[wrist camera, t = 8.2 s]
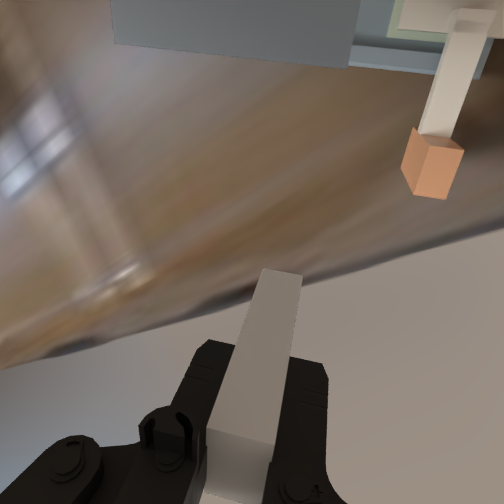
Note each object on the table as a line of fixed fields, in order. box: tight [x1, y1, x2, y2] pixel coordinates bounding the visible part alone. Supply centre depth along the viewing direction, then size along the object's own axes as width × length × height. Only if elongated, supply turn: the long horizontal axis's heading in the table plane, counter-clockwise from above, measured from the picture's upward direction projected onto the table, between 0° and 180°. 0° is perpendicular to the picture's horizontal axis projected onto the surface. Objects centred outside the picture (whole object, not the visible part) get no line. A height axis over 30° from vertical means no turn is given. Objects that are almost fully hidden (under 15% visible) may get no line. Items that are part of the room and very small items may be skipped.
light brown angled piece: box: [396, 0, 504, 200], centre depth 21 cm, size 8×20×6 cm, turn 174°
